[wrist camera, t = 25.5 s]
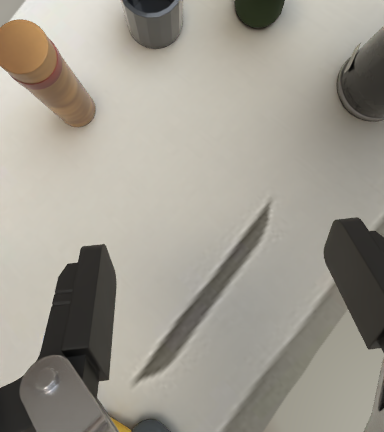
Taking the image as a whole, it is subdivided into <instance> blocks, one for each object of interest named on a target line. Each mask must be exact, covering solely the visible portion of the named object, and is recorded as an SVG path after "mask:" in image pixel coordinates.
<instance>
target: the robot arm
mask: <svg viewBox="0 0 384 432" xmlns="http://www.w3.org/2000/svg"><path fill="white" fill-rule="evenodd" d="M360 44H361V43H360ZM360 44H359V45H358V46H357V47H356V48H355V49H354V52H353V54H352V56H351V57H350V58H349V59H348V60H347V61H346V62H345V64H344V65H343V67H342V68H341V70H340V73H339V76H338V81H337V88H338V94H339V97H340V100H341V102H342V103H343V105H344V106H345V108H346V109H347V110H348V111H349V112H350V113H351V114H353V115H354V116H356V117H358V118H360V119H363V120H367V121H379V120H383V119H384V26H383V27H382V28H381V29H380V30H379V31H378V32H377V33H376V34H375V35H374V36H373V37H372V38H371V39H370V40H369V41H368V42H367V43H366V44H365V45H364V46H363V47H362V48H361V49H360V50H358V48H359V46H360ZM357 50H358V51H357ZM324 259H325V262H326V265H327V267H328V269H329V271H330V273H331V275H332V277H333V279H334V281H335V283H336V285H337V287H338V289H339V291H340V293H341V295H342V297H343V299H344V301H345V303H346V305H347V307H348V309H349V311H350V313H351V315H352V318H353V320H354V322H355V324H356V326H357V327H358V330H359V332H360V334H361V336H362V338H363V340H364V342H365V344H366V346H367V348H368V349H375V348H382V350H383V352H384V237H383V236H381V235H380V234H379V233H377V232H376V231H368V229H367V228H366V226H365V225H364V223H363V222H362V220H361V219H359V218H348V219H339V220H335V221H334V222H333V224H332V226H331V229H330V232H329V235H328V238H327V241H326V244H325V247H324ZM115 297H116V274H115V270H114V267H113V264H112V262H111V259H110V256H109V253H108V250H107V248H106V246H105V244H102V245H92V246H83V247H82V248H81V250H80V255H79V260H78V263H71V264H67V266H66V267H65V269H64V270H63V271H62V273H61V274H60V276H59V277H58V281H57V286H56V290H55V295H54V298H53V302H52V304H53V306H52V307H51V311H50V315H49V319H48V323H47V327H46V332H45V336H44V340H43V344H42V348H41V352H40V355H39V357H38V359H37V361H36V362H35V363H34V364H33V365H32V366H31V367H30V368H29V369H28V370H27V372H26V373H25V375H24V376H22V377H21V378H19V379H18V380H16V381H14V382H12V383H10V384H8V385H6V386H4V387H1V388H0V432H119V430H118V429H117V427H116V426H115V424H114V423H113V421H112V419H111V418H110V416H109V415H108V413H107V412H106V410H105V409H104V407H103V406H102V404H101V403H100V401H99V400H98V398H97V392H98V383H99V381H105V380H109V370H110V358H111V346H112V334H113V322H114V310H115ZM364 432H384V358H383V361H382V367H381V371H380V376H379V381H378V386H377V391H376V395H375V400H374V405H373V410H372V413H371V416H370V419H369V421H368V423H367V425H366V427H365V430H364Z"/></svg>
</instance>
